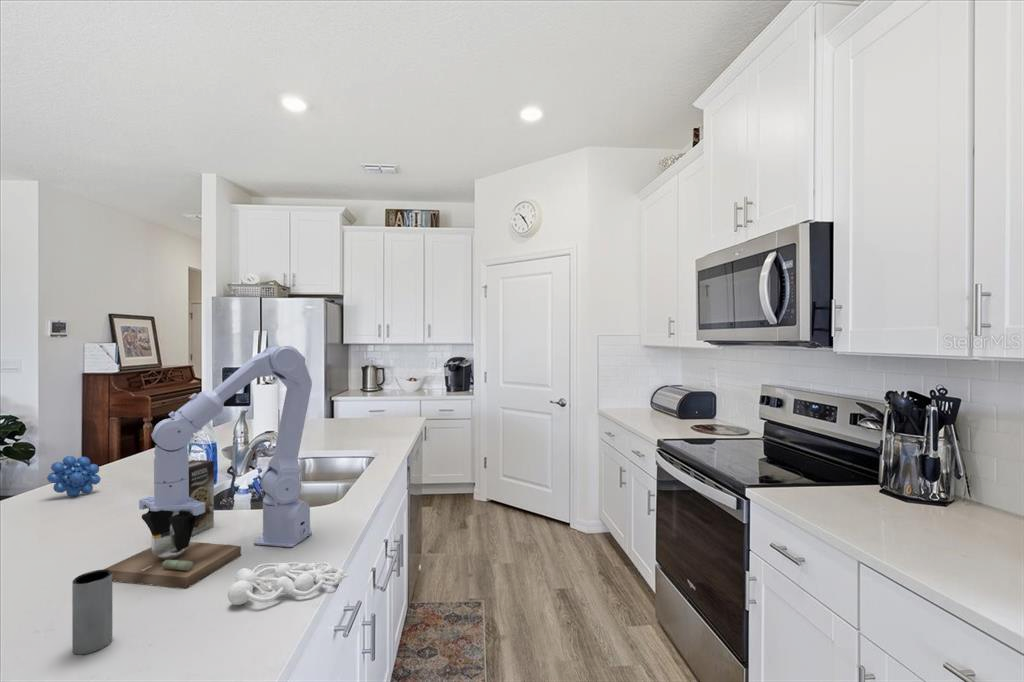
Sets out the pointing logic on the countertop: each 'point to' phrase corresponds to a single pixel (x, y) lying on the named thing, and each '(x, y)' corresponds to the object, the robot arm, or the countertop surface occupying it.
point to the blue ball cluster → (74, 476)
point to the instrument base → (171, 577)
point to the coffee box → (201, 492)
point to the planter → (91, 611)
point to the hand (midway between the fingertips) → (172, 546)
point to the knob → (165, 546)
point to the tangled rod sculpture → (282, 581)
